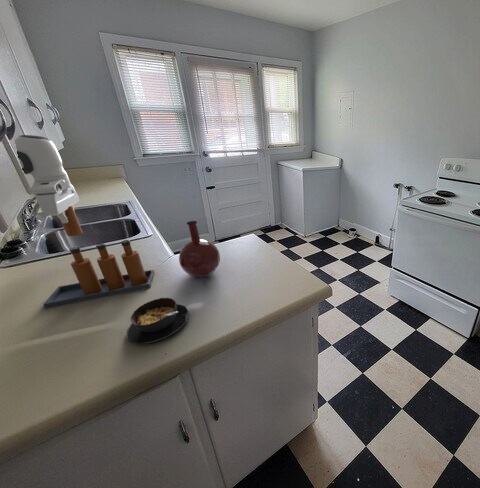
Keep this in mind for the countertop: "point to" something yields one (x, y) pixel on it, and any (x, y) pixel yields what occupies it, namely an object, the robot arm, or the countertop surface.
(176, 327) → the soup bowl
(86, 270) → the bottle
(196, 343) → the countertop surface
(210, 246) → the round-bottom flask
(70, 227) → the loose bottle
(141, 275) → the bottle
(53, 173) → the robot arm
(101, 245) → the bottle
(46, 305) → the tray
